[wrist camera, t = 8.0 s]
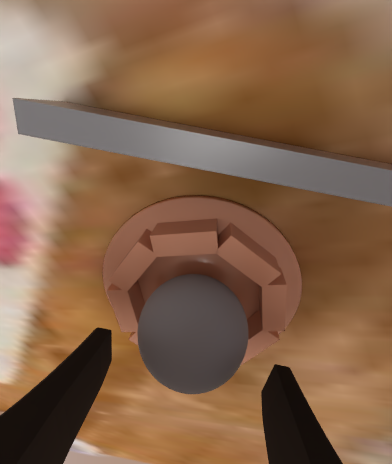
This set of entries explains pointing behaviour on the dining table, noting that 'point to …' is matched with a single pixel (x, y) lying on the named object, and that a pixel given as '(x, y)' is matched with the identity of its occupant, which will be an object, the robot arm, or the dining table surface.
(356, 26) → the dining table surface
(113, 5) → the dining table surface
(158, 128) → the low wall
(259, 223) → the bowl
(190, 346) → the ball
